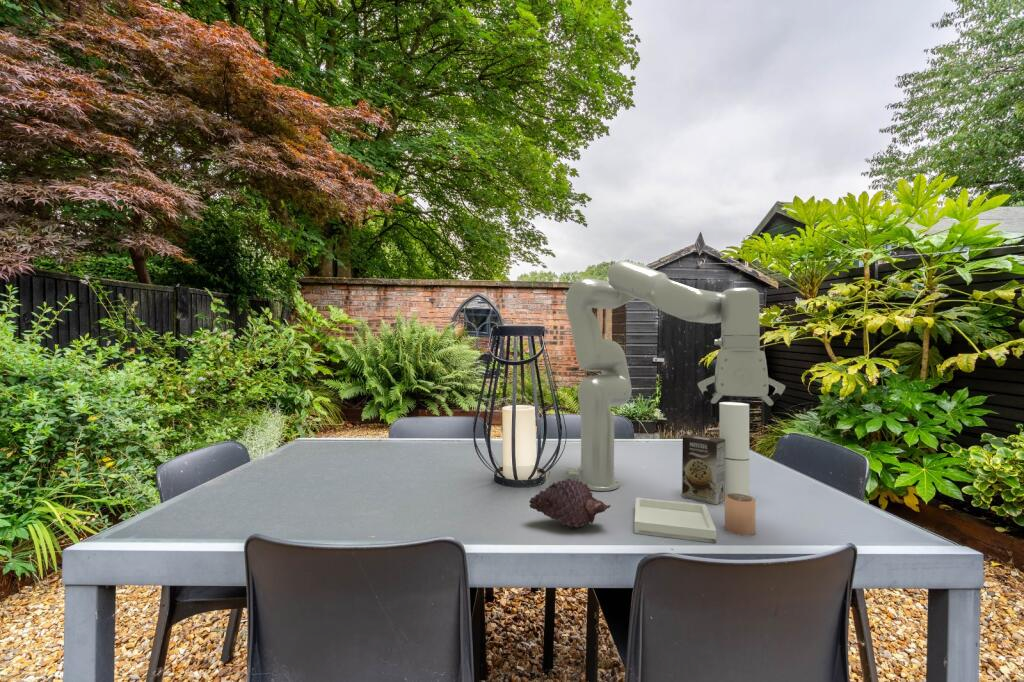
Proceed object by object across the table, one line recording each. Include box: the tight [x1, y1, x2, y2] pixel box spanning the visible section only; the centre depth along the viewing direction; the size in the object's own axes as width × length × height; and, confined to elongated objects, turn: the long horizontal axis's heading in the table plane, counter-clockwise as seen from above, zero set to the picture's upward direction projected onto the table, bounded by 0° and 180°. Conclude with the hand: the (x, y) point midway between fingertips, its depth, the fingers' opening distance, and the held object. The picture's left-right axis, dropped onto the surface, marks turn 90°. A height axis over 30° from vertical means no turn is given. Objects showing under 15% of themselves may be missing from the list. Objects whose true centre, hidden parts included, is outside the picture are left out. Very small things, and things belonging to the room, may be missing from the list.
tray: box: [634, 497, 717, 544], centre depth 99 cm, size 16×16×2 cm
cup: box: [724, 493, 757, 536], centre depth 96 cm, size 6×6×7 cm
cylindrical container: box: [718, 401, 750, 500], centre depth 118 cm, size 7×7×25 cm
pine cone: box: [528, 478, 612, 528], centre depth 98 cm, size 18×10×10 cm, turn 83°
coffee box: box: [681, 433, 725, 506], centre depth 117 cm, size 9×6×16 cm
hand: (740, 422), depth 97 cm, fingers open, 9 cm apart
